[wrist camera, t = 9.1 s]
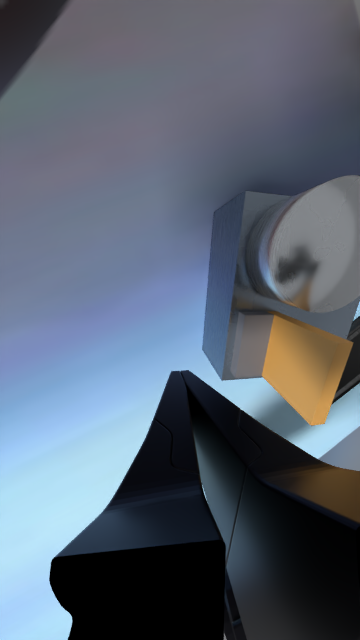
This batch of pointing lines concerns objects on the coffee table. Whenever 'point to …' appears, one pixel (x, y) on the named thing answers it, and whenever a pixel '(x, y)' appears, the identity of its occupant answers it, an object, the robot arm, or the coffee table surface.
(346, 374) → the phone
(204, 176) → the coffee table surface
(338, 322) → the hitch block
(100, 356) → the coffee table surface
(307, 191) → the grey rounded piece
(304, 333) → the grey orange block
